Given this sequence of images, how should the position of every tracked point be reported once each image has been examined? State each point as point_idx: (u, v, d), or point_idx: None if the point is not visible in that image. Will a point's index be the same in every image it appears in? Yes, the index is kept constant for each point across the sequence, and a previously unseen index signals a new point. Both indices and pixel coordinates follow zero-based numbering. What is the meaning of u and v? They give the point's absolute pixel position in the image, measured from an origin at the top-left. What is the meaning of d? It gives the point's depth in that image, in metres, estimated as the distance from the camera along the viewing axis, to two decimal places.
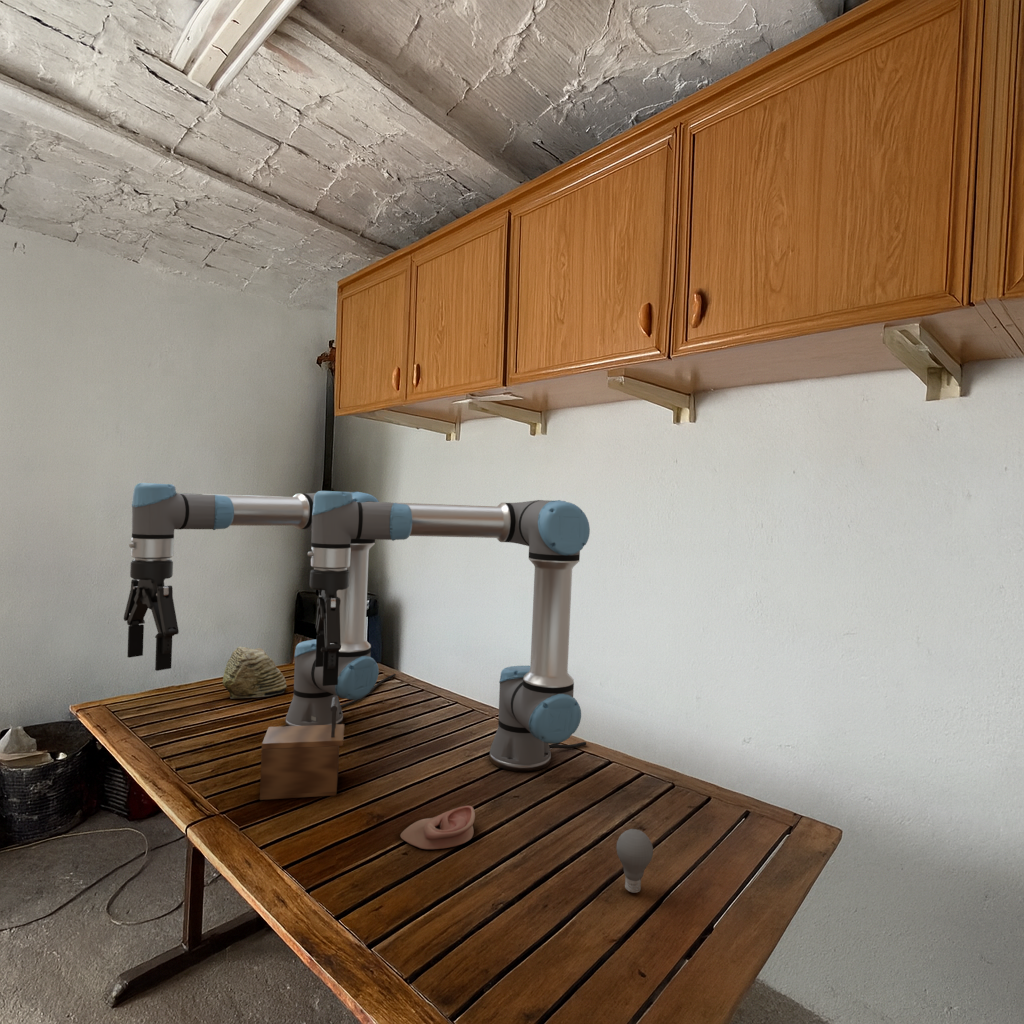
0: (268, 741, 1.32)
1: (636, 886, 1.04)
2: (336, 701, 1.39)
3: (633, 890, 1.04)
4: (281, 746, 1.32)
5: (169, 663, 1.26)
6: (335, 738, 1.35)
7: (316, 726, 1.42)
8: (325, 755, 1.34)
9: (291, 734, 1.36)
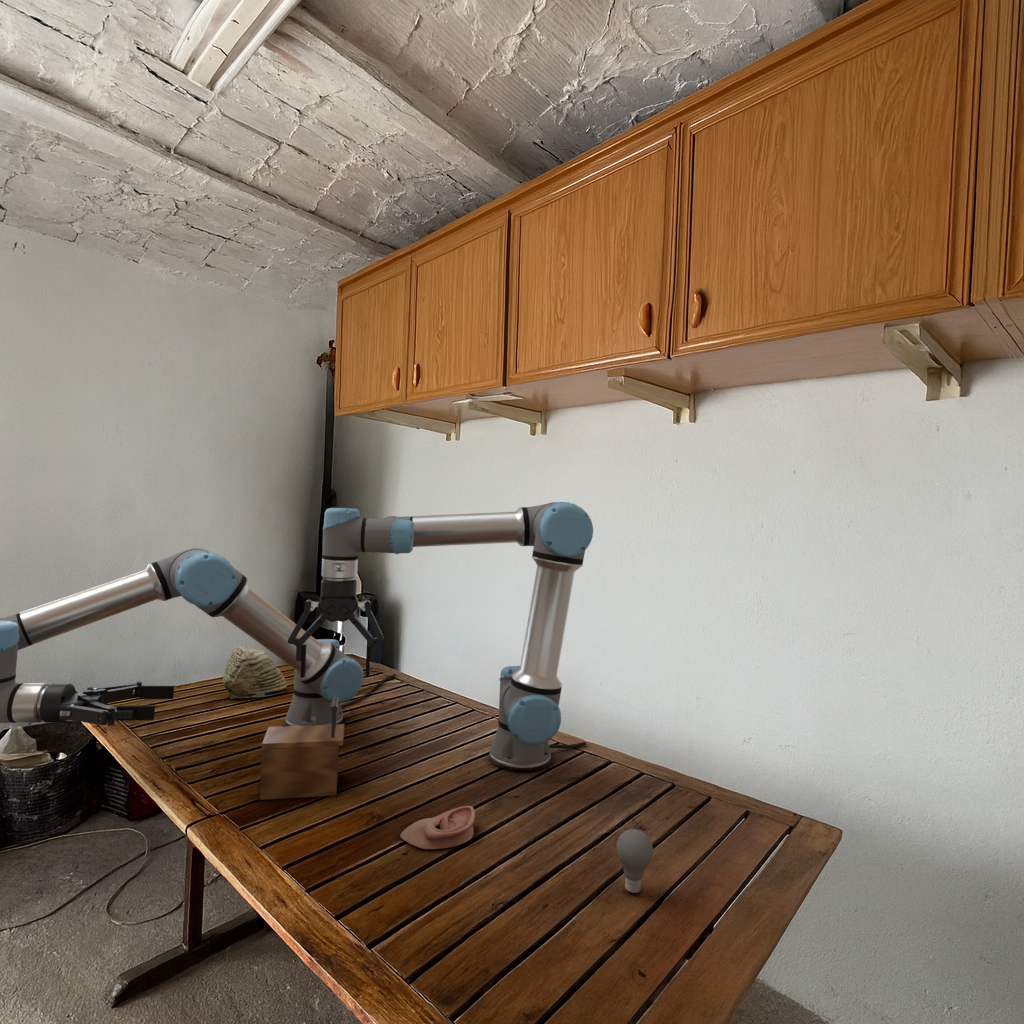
0: (268, 741, 1.32)
1: (636, 886, 1.04)
2: (336, 701, 1.39)
3: (633, 890, 1.04)
4: (281, 746, 1.32)
5: (147, 708, 1.24)
6: (335, 738, 1.35)
7: (316, 726, 1.42)
8: (325, 755, 1.34)
9: (291, 734, 1.36)
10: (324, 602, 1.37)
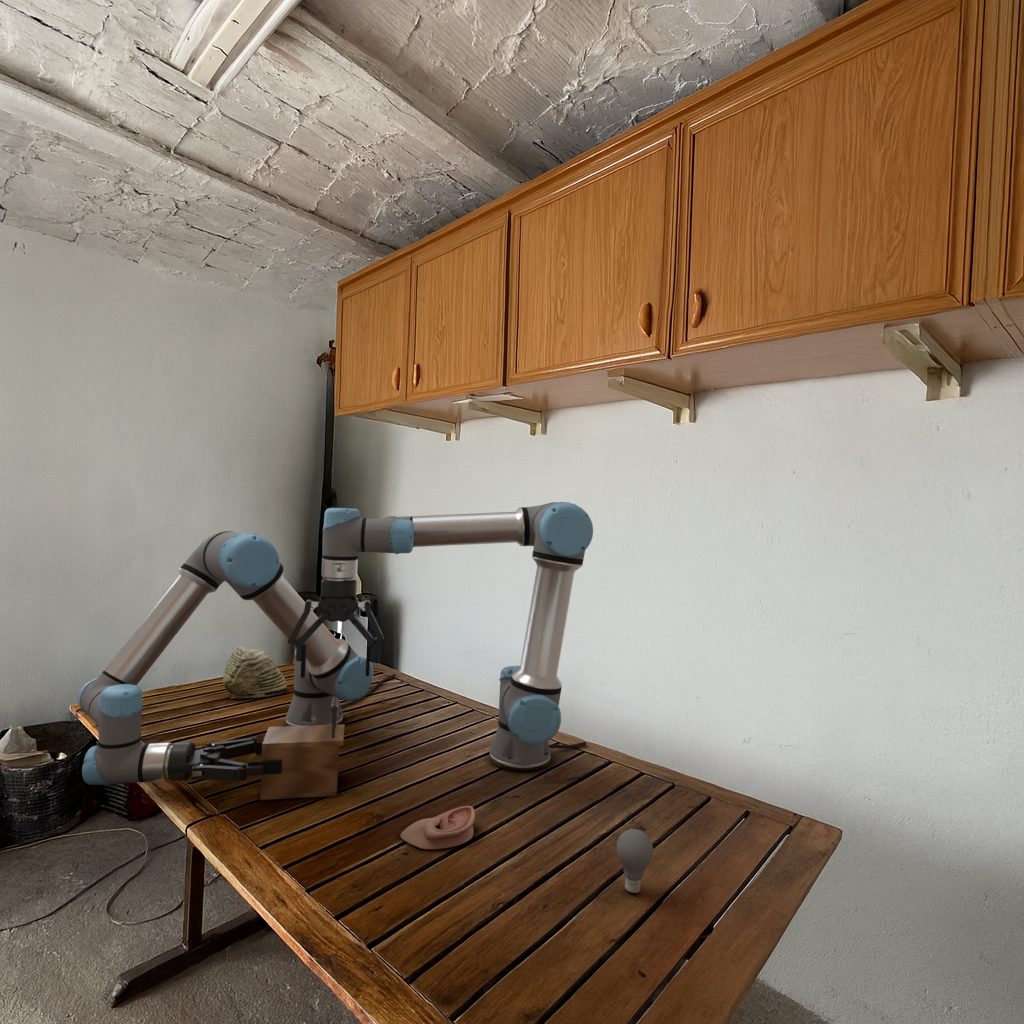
0: (269, 741, 1.32)
1: (636, 886, 1.04)
2: (336, 701, 1.39)
3: (633, 890, 1.04)
4: (281, 746, 1.32)
5: (276, 762, 1.31)
6: (335, 738, 1.35)
7: (316, 726, 1.42)
8: (325, 755, 1.34)
9: (292, 734, 1.36)
10: (324, 602, 1.37)
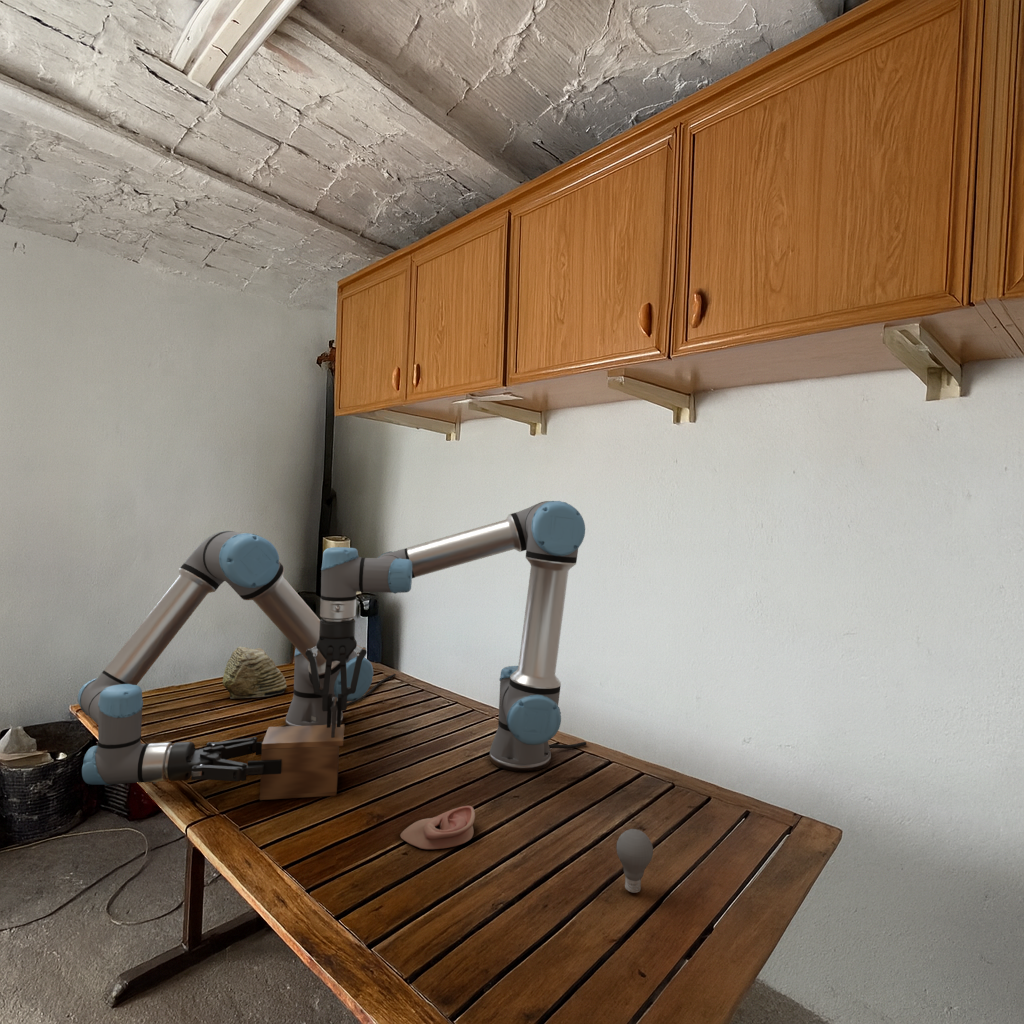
0: (268, 742, 1.32)
1: (636, 886, 1.04)
2: (336, 701, 1.39)
3: (633, 890, 1.04)
4: (281, 746, 1.32)
5: (276, 762, 1.31)
6: (335, 739, 1.35)
7: (316, 726, 1.42)
8: (325, 755, 1.34)
9: (291, 735, 1.36)
10: (320, 642, 1.37)
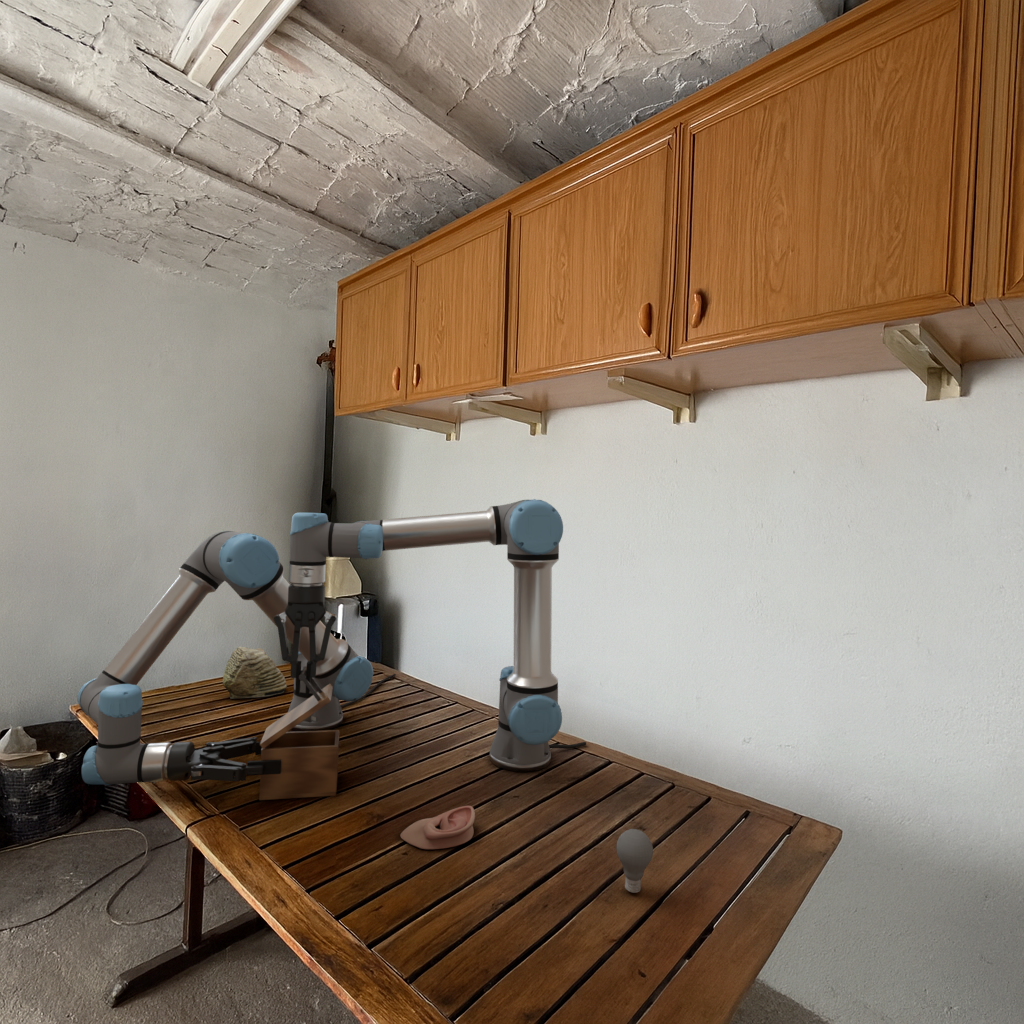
0: (265, 739, 1.32)
1: (636, 886, 1.04)
2: (303, 670, 1.37)
3: (633, 890, 1.04)
4: (278, 735, 1.32)
5: (275, 762, 1.31)
6: (321, 699, 1.34)
7: (306, 700, 1.41)
8: (325, 755, 1.34)
9: (285, 720, 1.36)
10: (289, 608, 1.35)
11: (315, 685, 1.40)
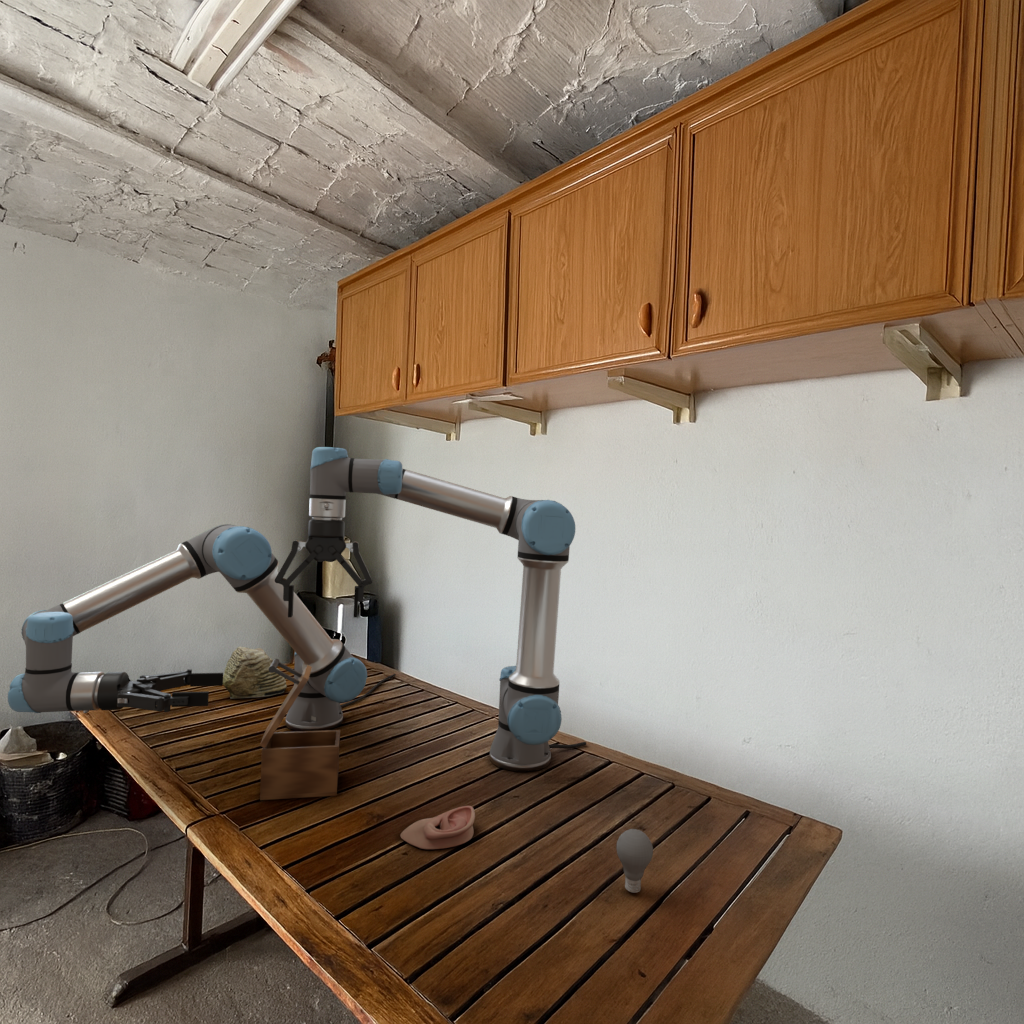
0: (263, 738, 1.32)
1: (636, 886, 1.04)
2: (273, 662, 1.36)
3: (633, 890, 1.04)
4: (273, 730, 1.31)
5: (202, 694, 1.26)
6: (299, 682, 1.33)
7: None
8: (325, 755, 1.34)
9: (277, 715, 1.36)
10: (311, 542, 1.36)
11: (292, 672, 1.39)
